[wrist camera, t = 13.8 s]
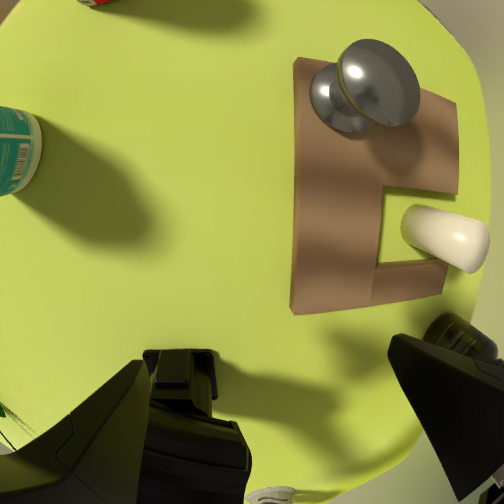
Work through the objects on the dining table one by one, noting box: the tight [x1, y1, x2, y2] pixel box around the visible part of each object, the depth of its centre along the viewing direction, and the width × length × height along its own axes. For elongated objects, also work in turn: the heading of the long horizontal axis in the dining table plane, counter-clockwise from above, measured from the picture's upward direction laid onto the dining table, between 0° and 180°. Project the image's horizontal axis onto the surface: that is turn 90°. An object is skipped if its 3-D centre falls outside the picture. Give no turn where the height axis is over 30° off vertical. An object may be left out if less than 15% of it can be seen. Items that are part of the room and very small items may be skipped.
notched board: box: [289, 57, 459, 315], centre depth 20 cm, size 20×17×2 cm
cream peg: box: [401, 204, 490, 274], centre depth 19 cm, size 4×4×8 cm
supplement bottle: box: [423, 313, 504, 368], centre depth 22 cm, size 7×7×12 cm
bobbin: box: [309, 39, 421, 134], centre depth 14 cm, size 6×6×6 cm
